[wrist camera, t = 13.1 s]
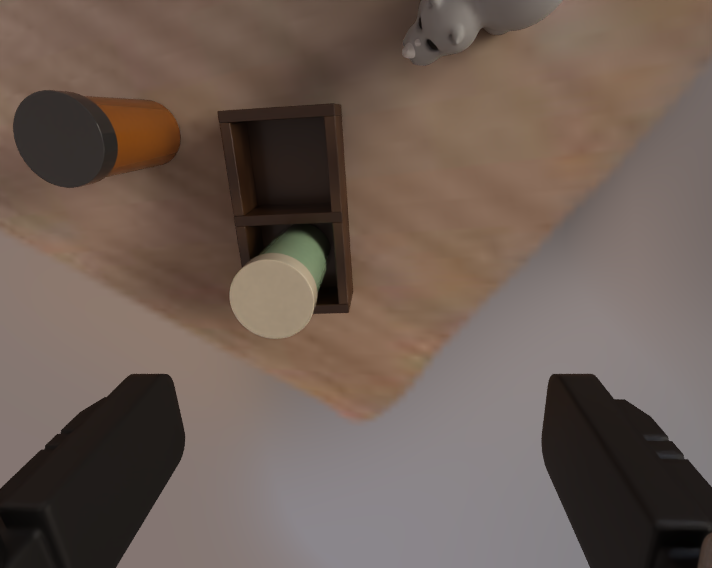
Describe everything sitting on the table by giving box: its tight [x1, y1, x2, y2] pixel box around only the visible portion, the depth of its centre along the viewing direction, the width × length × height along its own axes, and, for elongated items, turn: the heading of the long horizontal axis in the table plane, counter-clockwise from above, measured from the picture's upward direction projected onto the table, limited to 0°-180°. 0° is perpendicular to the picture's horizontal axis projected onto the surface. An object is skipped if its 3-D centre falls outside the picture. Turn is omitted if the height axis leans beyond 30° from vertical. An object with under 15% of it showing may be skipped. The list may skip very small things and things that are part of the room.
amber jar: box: [13, 90, 180, 188], centre depth 32 cm, size 6×6×11 cm
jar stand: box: [218, 104, 353, 314], centre depth 36 cm, size 16×8×5 cm, turn 3°
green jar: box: [229, 224, 332, 339], centre depth 34 cm, size 6×6×11 cm
